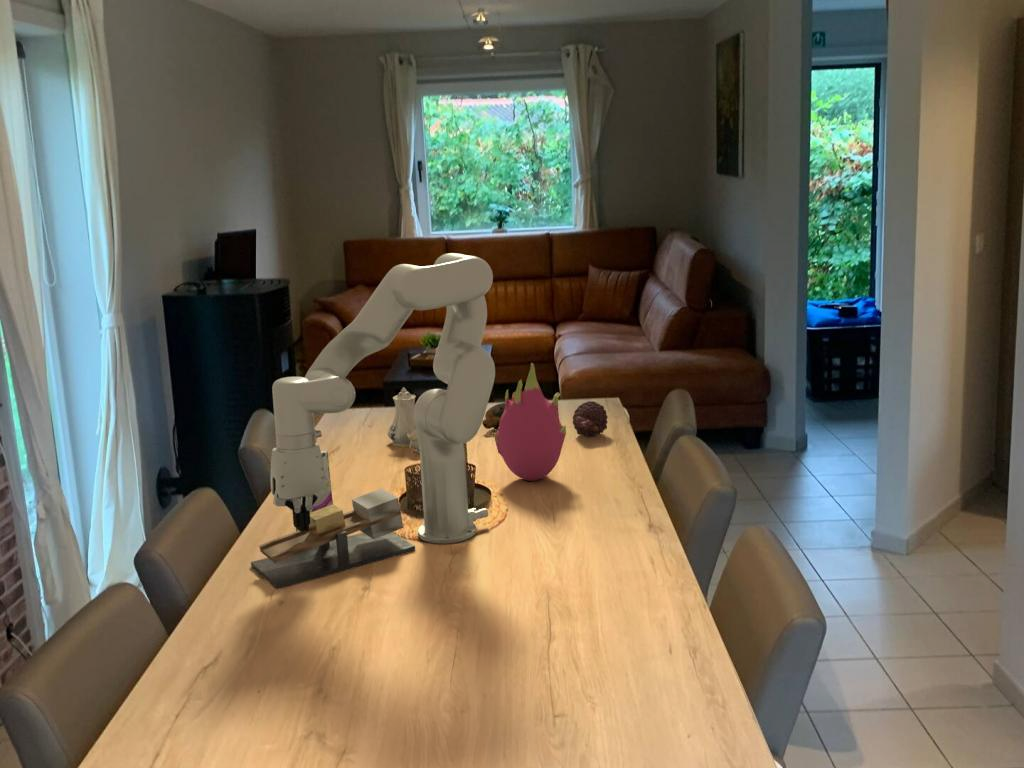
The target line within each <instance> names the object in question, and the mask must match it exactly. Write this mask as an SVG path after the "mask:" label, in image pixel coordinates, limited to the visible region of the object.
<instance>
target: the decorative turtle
mask: <svg viewBox="0 0 1024 768" xmlns="http://www.w3.org/2000/svg"><path fill="white" fill-rule="evenodd" d="M504 410H505V402H503V403H502V402H501V403H498V404H495V405H493V406H491V407H490V408H488V410H487V411H485V414H484V416H485V417H484V418H485V419H483V420H482V423H481V425H483V427H484V428H485V429H488V430H489V429H490V430H491V429H495V430H497V429H499V424H500V419H501V416H502V414H503V412H504Z"/></svg>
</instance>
